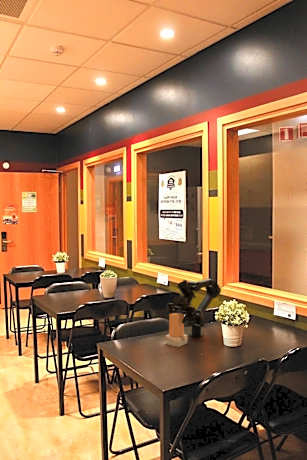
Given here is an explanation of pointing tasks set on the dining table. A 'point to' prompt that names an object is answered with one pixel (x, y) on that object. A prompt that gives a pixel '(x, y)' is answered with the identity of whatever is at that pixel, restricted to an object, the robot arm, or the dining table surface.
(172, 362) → the dining table surface
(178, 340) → the tower top slab
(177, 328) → the orange pillar block
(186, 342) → the tower base slab
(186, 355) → the dining table surface
